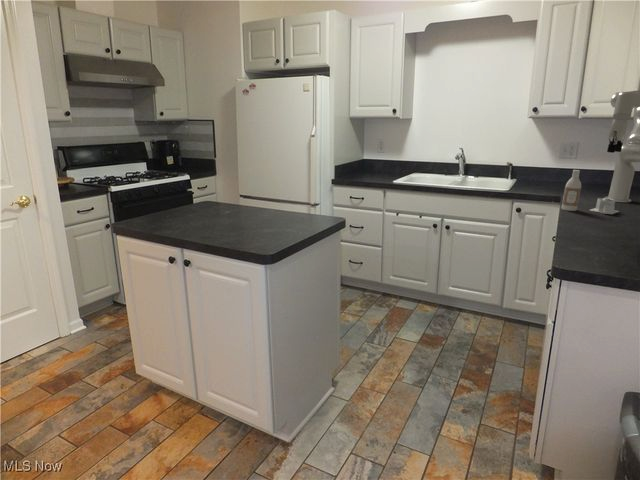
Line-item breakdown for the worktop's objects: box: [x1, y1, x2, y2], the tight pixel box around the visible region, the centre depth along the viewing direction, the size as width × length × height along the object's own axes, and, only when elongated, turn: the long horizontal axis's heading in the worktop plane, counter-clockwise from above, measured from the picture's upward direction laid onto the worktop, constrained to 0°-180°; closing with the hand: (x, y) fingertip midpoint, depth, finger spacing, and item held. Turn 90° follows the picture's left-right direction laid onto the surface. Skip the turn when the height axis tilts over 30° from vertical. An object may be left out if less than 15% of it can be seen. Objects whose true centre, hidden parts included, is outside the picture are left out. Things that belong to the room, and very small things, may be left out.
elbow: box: [595, 197, 616, 215], centre depth 214 cm, size 12×6×6 cm, turn 160°
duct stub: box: [589, 197, 620, 215], centre depth 216 cm, size 10×10×6 cm
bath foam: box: [561, 169, 582, 212], centre depth 215 cm, size 7×7×20 cm
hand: (614, 152), depth 223 cm, fingers open, 9 cm apart
